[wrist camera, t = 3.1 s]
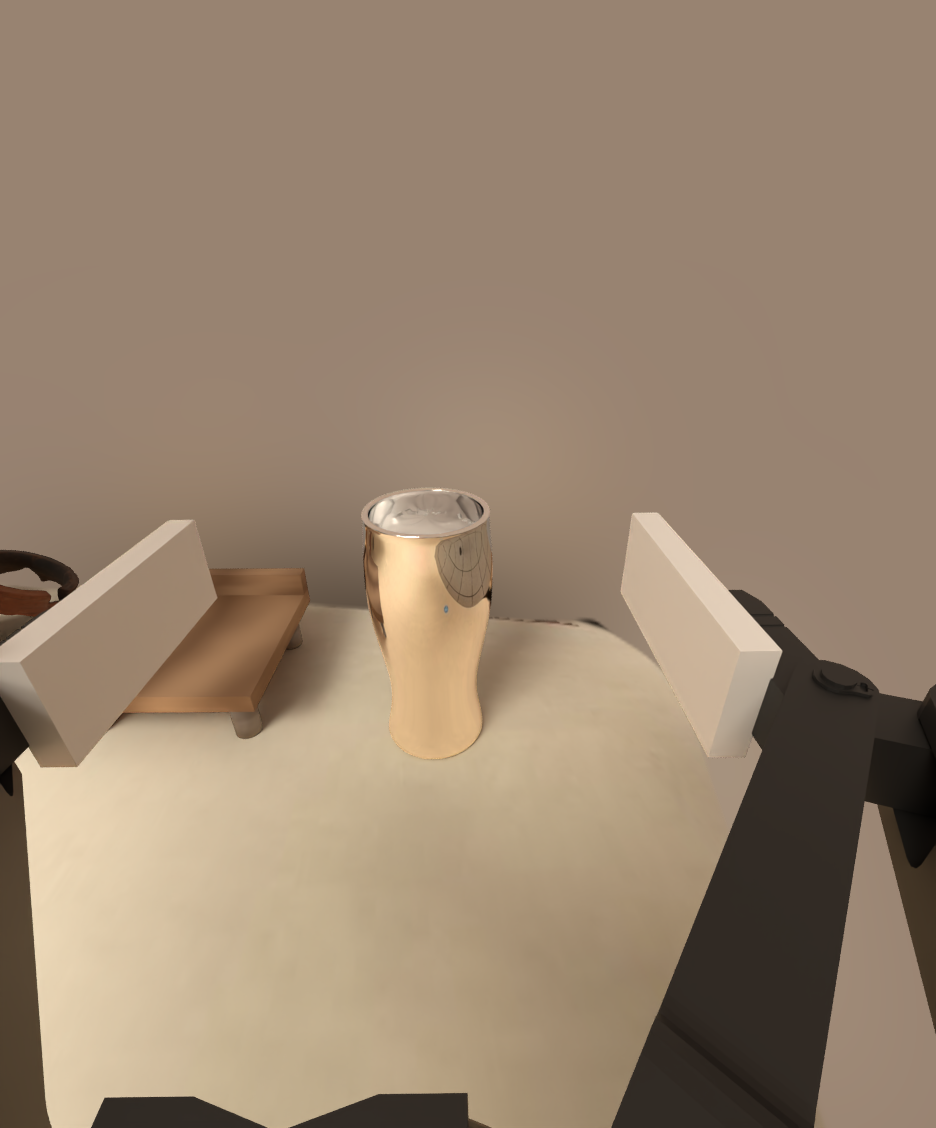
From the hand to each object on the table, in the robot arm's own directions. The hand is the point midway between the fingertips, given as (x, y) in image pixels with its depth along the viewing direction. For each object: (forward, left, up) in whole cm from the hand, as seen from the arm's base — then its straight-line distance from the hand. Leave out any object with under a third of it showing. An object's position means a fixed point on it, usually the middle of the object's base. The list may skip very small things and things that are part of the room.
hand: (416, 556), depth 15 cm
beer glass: (-1, +10, -18) cm, 20 cm away
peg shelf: (-18, +14, -18) cm, 29 cm away
